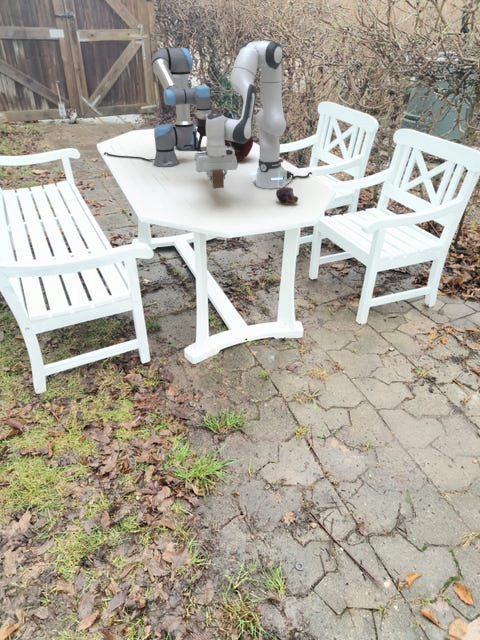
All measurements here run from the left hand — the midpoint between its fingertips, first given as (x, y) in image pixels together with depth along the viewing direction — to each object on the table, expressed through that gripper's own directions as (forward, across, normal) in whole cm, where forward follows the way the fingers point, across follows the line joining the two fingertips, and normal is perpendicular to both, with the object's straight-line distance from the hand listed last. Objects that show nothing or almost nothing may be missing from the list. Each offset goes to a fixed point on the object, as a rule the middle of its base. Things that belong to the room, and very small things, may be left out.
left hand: (205, 161), depth 257 cm
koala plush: (+12, -2, +80) cm, 81 cm away
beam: (0, 0, -21) cm, 21 cm away
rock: (+11, +34, -46) cm, 58 cm away
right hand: (-3, -1, -42) cm, 42 cm away
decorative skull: (+12, +26, +42) cm, 51 cm away
